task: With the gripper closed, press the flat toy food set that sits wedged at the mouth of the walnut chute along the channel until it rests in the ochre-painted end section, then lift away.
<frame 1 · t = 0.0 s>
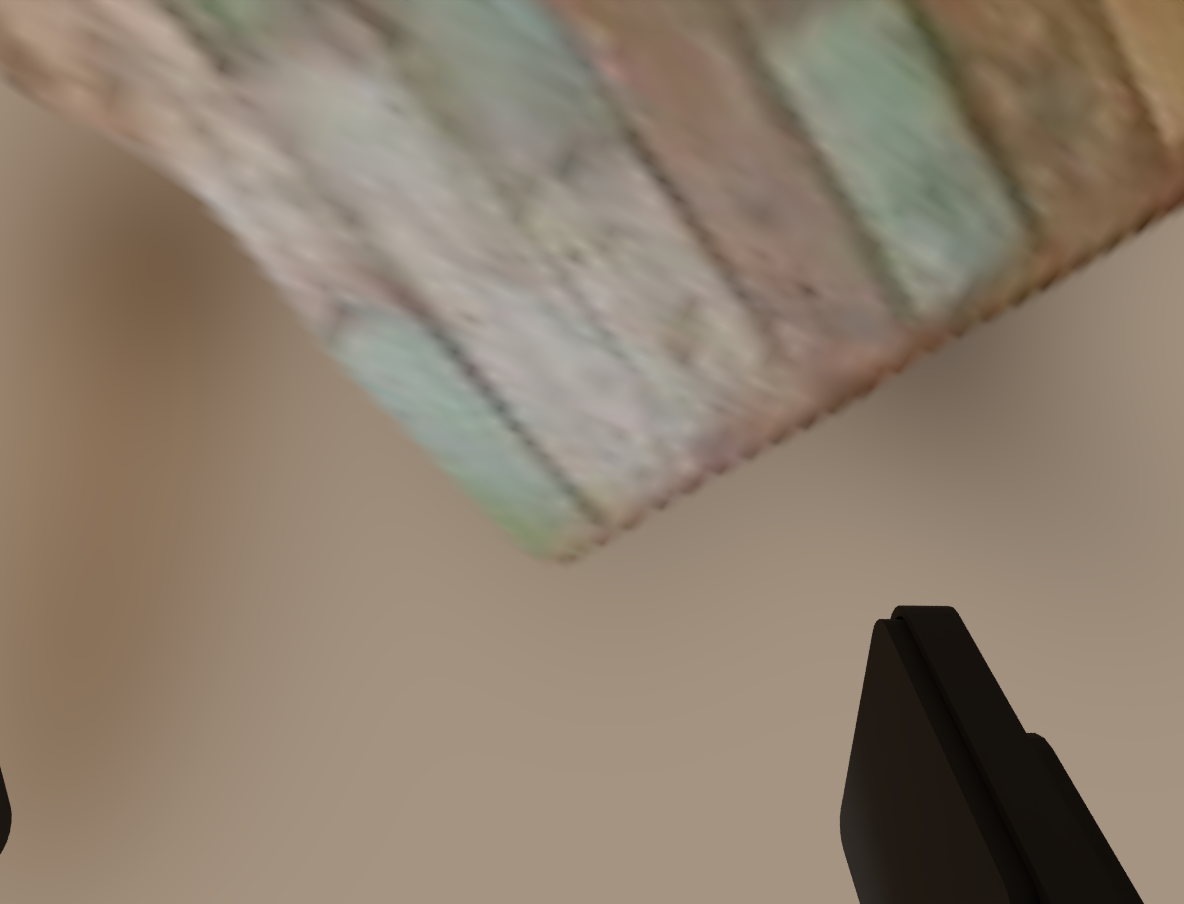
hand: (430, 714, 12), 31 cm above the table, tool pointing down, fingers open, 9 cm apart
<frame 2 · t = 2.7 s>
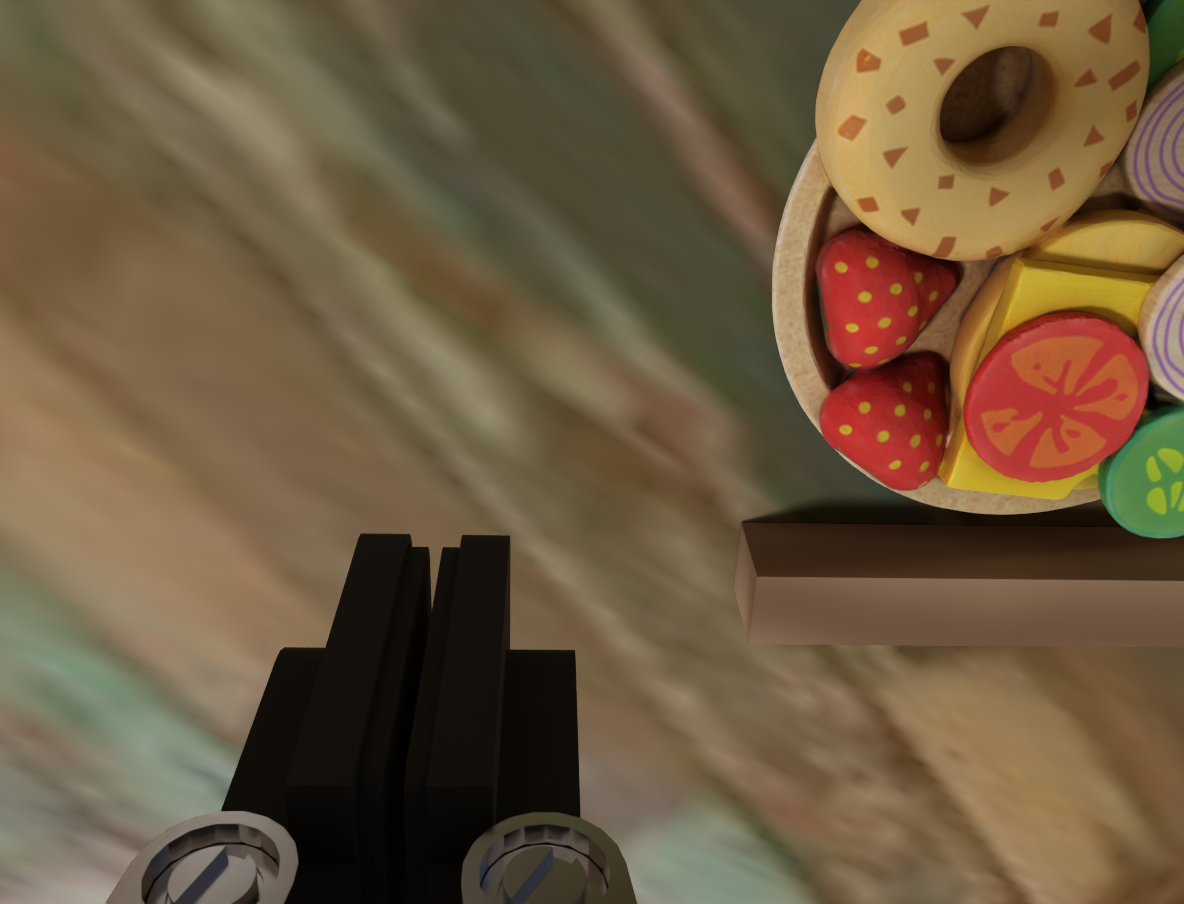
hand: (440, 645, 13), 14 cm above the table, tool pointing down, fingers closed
toy food set: (1043, 240, 26), on the table
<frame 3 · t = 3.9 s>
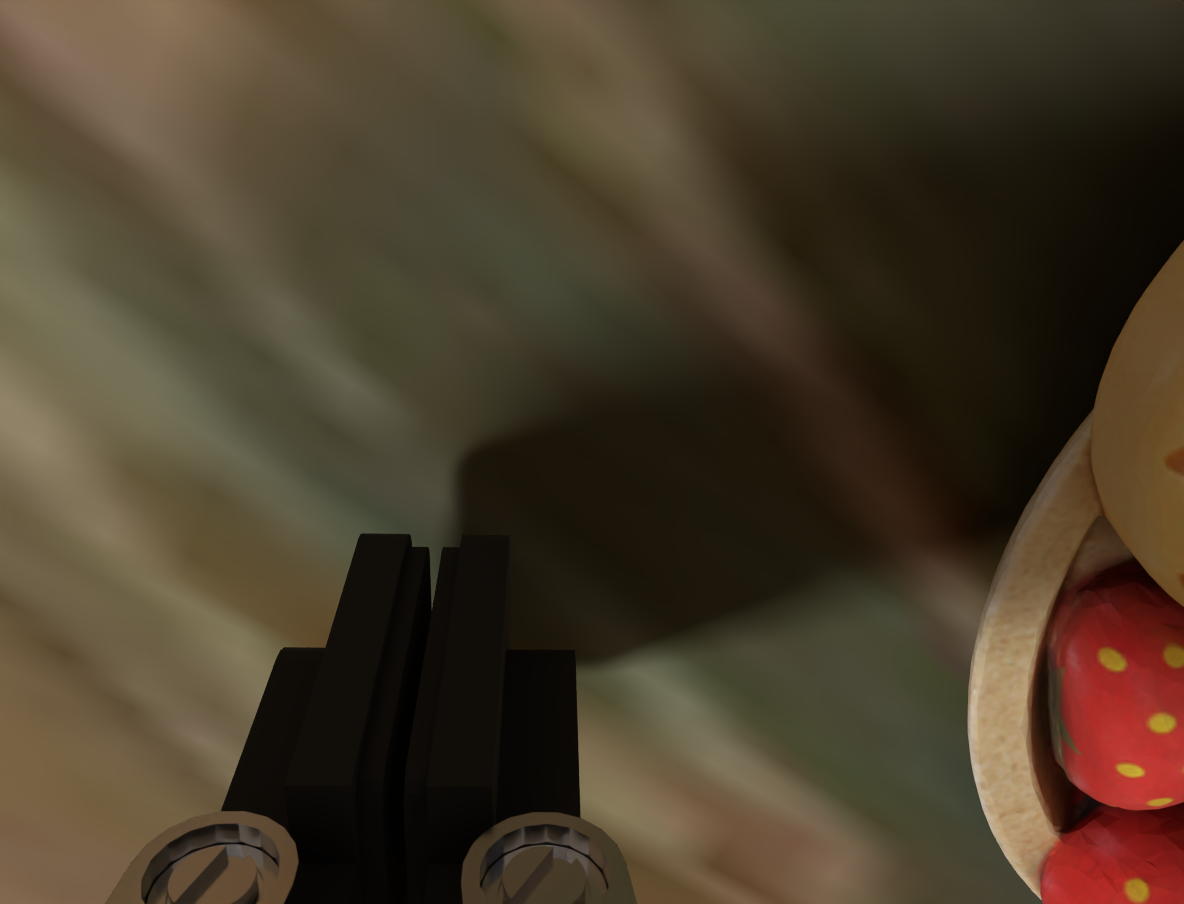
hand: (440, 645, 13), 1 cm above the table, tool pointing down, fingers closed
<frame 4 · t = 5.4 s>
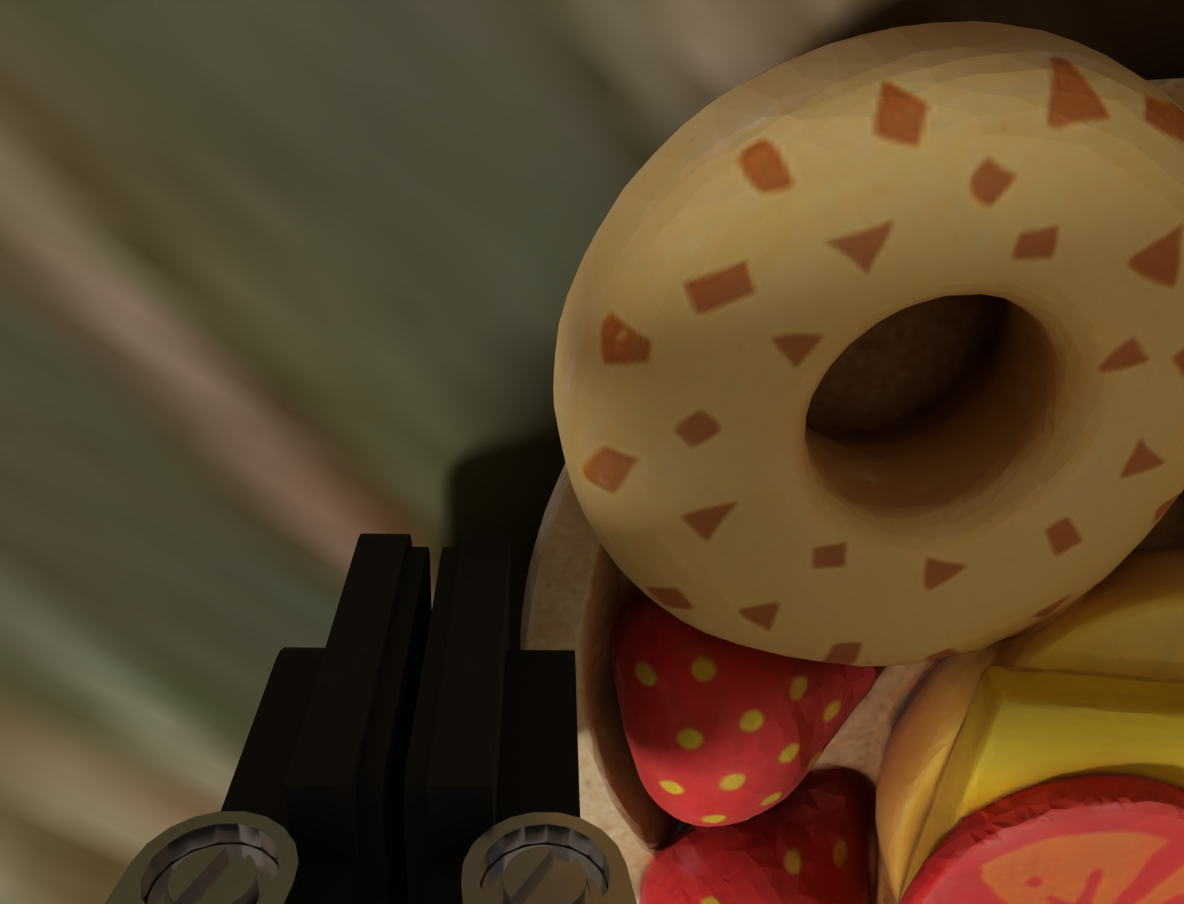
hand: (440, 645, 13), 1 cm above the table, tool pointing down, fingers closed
toy food set: (1042, 570, 14), on the table, touching gripper
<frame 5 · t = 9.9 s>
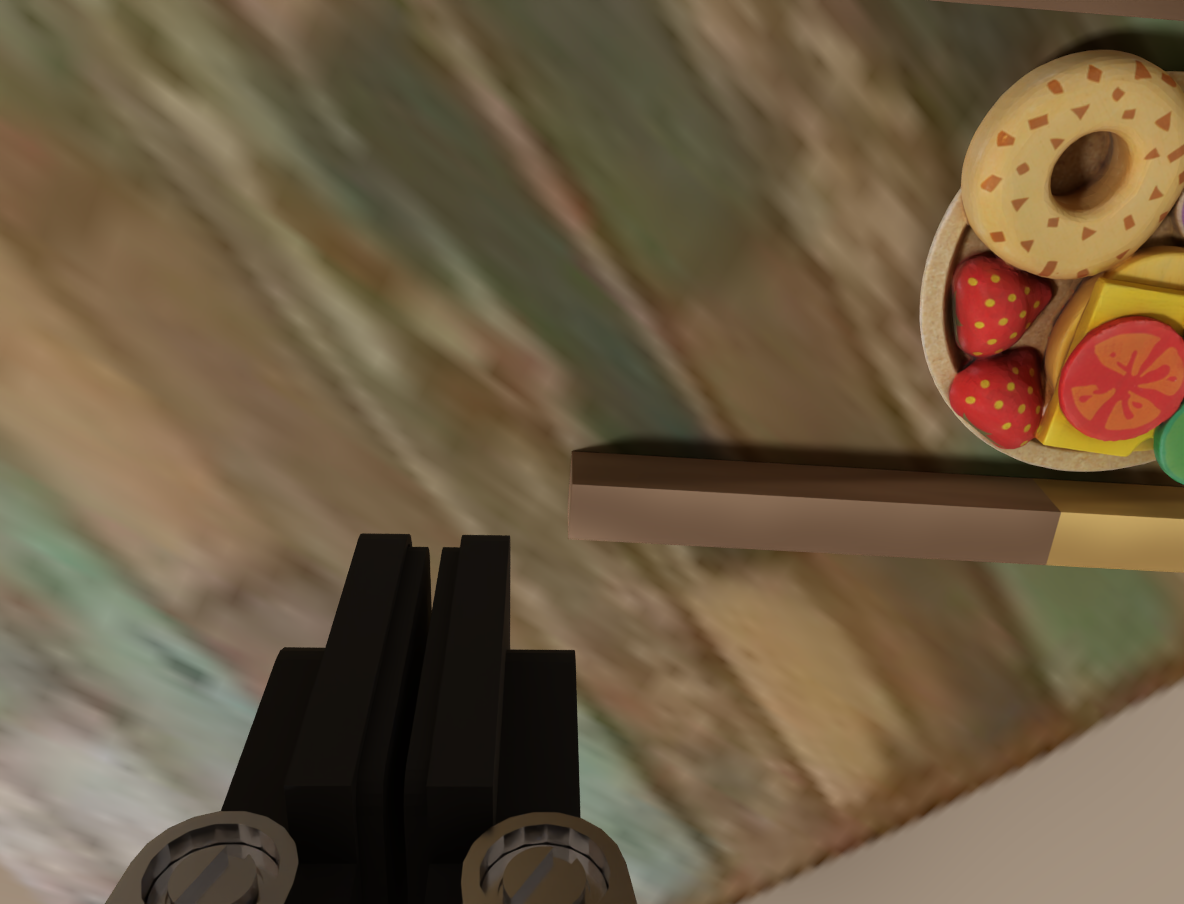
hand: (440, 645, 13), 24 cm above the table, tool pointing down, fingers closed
chute: (965, 259, 35), on the table
toy food set: (1113, 268, 36), on the table
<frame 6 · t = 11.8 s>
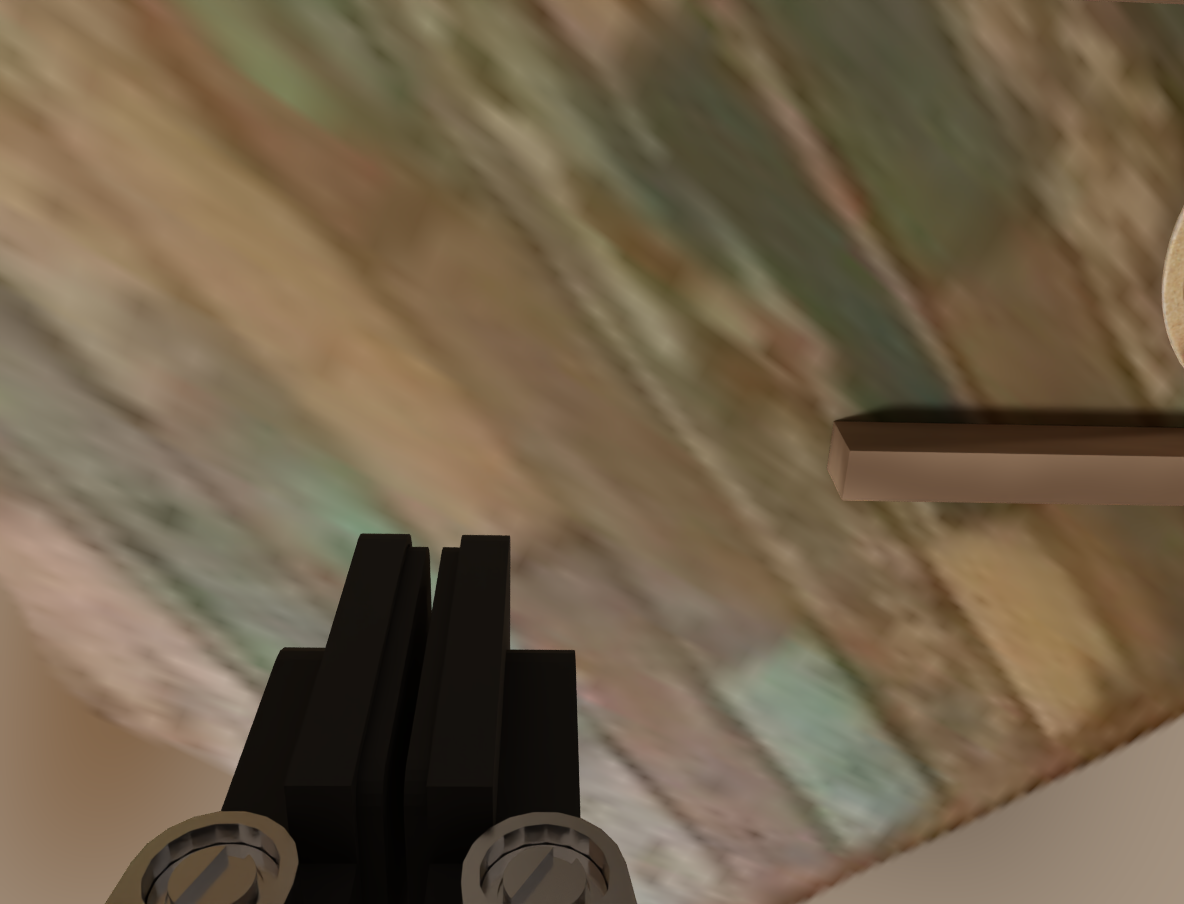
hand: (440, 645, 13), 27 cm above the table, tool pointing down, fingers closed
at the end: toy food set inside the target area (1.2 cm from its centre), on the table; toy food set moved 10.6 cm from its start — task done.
